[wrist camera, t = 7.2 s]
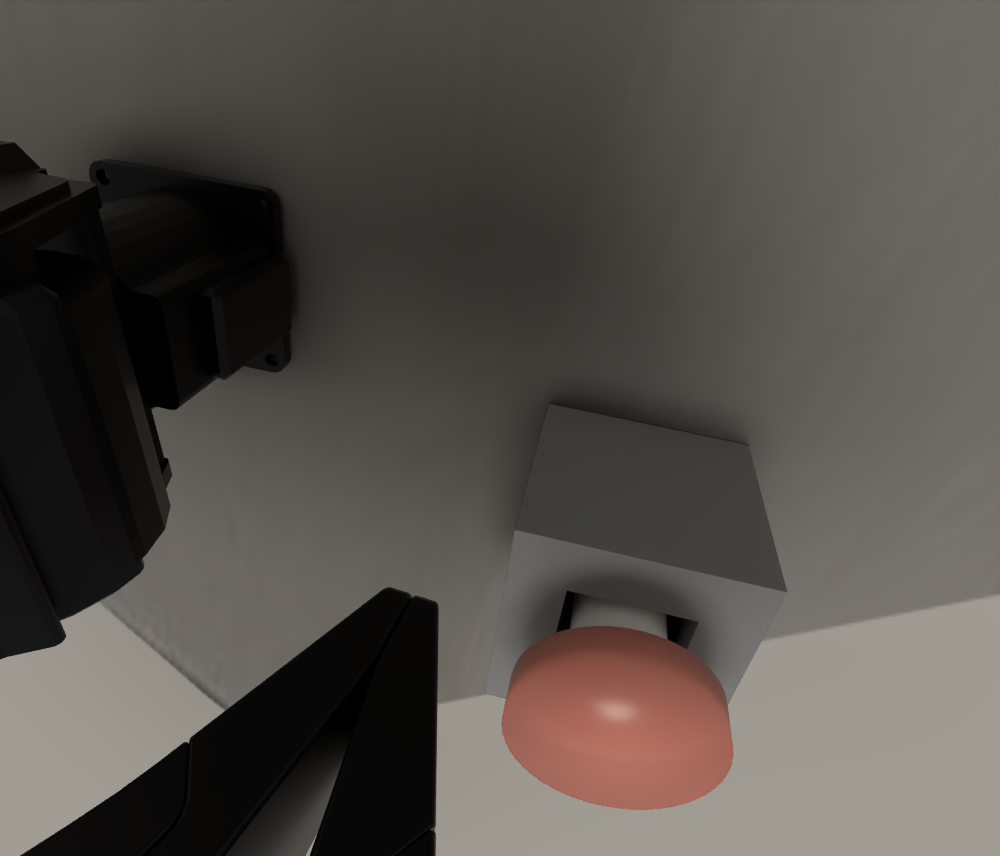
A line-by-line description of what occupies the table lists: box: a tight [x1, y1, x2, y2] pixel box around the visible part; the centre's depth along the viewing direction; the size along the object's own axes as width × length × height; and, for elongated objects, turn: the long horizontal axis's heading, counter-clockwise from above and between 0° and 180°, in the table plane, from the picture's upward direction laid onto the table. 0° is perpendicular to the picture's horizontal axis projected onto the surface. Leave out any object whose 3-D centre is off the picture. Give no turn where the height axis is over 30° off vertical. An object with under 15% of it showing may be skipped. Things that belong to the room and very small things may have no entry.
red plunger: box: [502, 592, 733, 810], centre depth 19 cm, size 6×6×8 cm
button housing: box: [485, 404, 787, 704], centre depth 21 cm, size 7×7×7 cm
